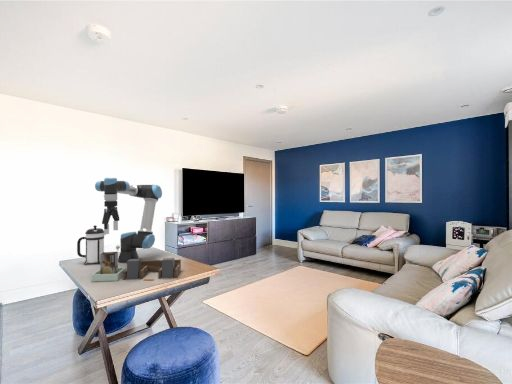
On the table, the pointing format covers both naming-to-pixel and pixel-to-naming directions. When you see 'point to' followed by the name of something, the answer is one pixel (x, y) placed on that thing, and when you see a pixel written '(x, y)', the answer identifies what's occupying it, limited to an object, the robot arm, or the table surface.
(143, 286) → the table surface
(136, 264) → the block
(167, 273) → the block
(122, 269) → the tray
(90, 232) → the coffee press
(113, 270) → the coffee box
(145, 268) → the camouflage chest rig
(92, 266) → the table surface
